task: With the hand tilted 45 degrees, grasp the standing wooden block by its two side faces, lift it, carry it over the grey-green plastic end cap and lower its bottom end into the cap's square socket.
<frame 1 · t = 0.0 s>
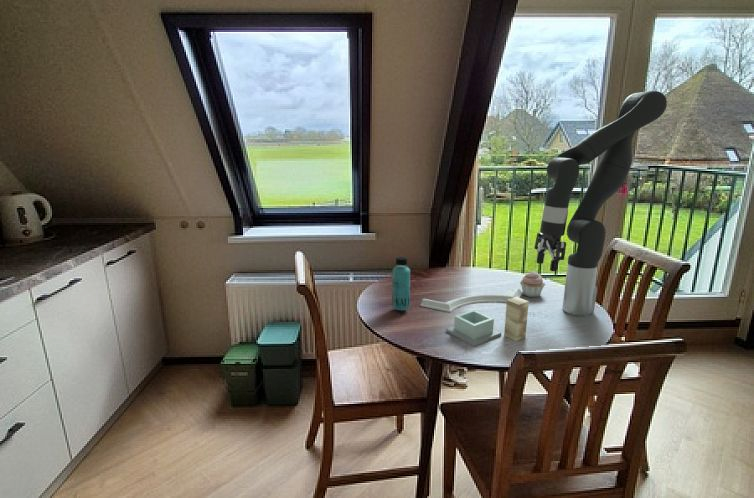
hand: (546, 267, 139), 17 cm above the table, tool pointing down, fingers open, 8 cm apart
cupcake: (531, 295, 161), on the table
beverage bottle: (401, 311, 148), on the table
wooden block: (514, 336, 128), on the table
molding: (473, 301, 157), on the table
end cap: (473, 333, 130), on the table
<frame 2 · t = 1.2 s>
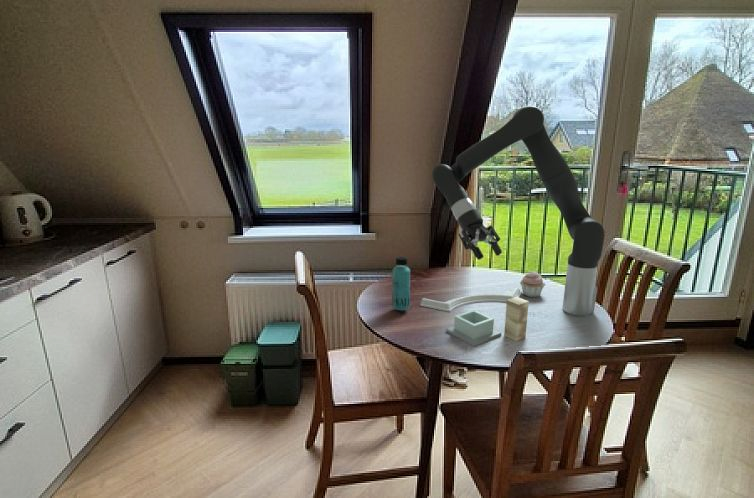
hand: (490, 256, 131), 23 cm above the table, tool tilted 45°, fingers open, 8 cm apart
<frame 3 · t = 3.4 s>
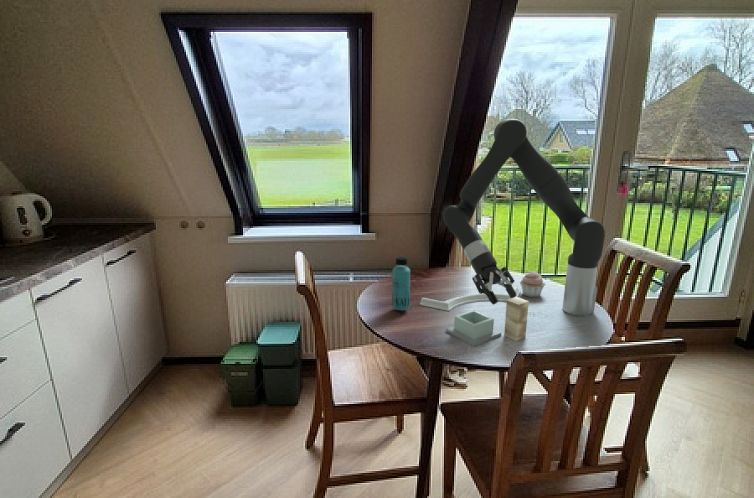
hand: (505, 300, 129), 10 cm above the table, tool tilted 45°, fingers open, 8 cm apart
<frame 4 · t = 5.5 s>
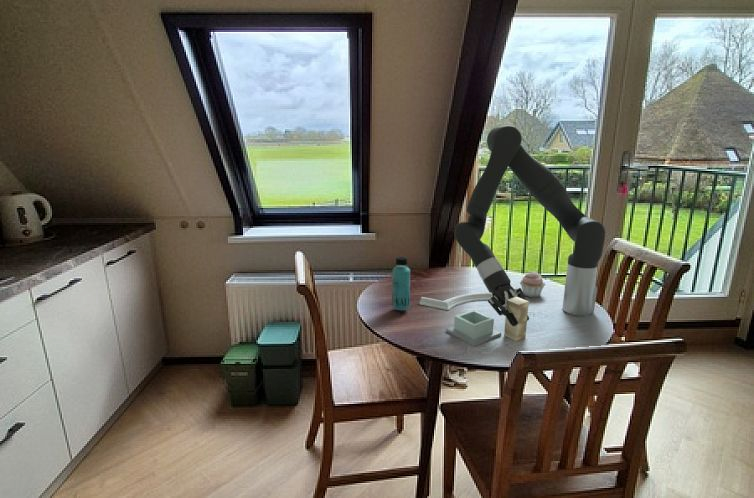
hand: (521, 322, 125), 5 cm above the table, tool tilted 45°, fingers closed on wooden block, 4 cm apart
wooden block: (514, 336, 128), on the table, touching gripper
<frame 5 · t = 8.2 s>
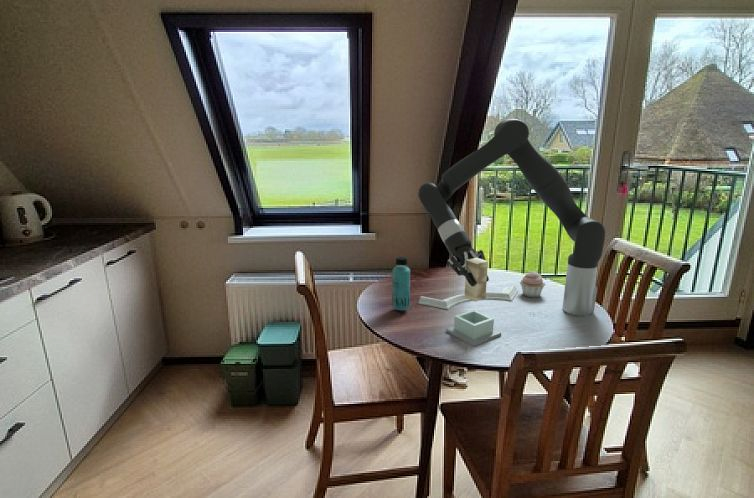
hand: (480, 283, 124), 17 cm above the table, tool tilted 45°, fingers closed on wooden block, 4 cm apart
wooden block: (474, 297, 127), point 12 cm above the table, touching gripper
when the fingers open (8 cm above the table, at t = 10.7 s): wooden block drops 1 cm, resting on end cap.
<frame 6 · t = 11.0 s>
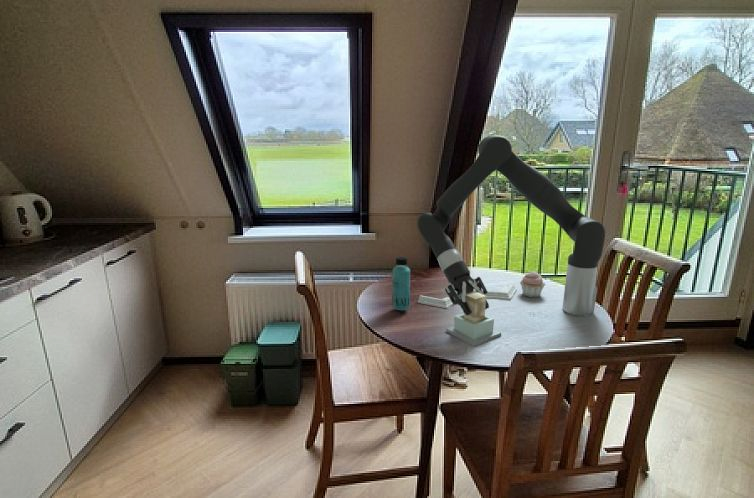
hand: (478, 311, 127), 8 cm above the table, tool tilted 45°, fingers open, 7 cm apart
wooden block: (473, 330, 130), point 1 cm above the table, touching end cap
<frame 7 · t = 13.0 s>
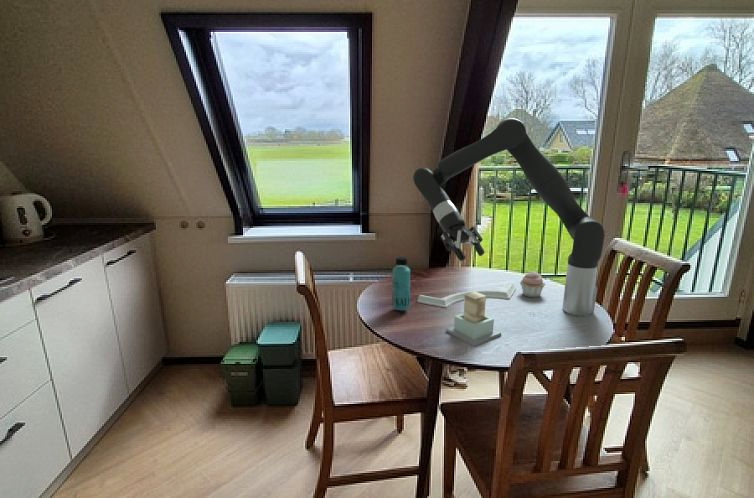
hand: (473, 257, 132), 23 cm above the table, tool tilted 45°, fingers open, 8 cm apart
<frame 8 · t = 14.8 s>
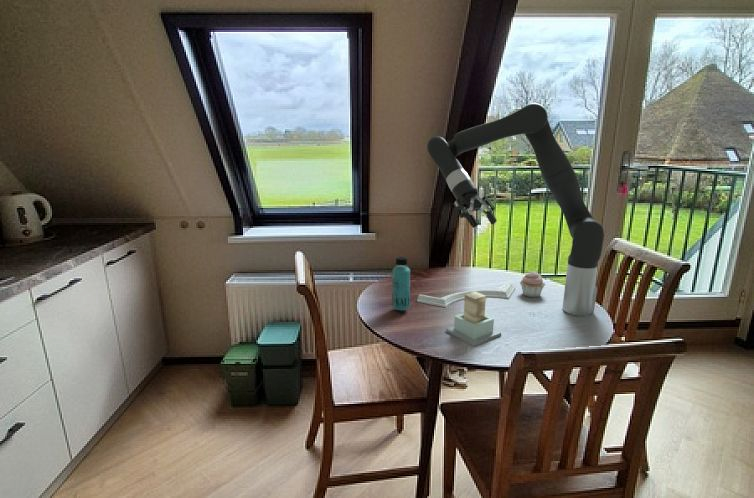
hand: (485, 224, 133), 33 cm above the table, tool tilted 45°, fingers open, 8 cm apart
at the end: wooden block 0.0 cm off-centre on the end cap, point 1.0 cm above the end cap's base; wooden block tilted 0°; the gripper is holding nothing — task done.
